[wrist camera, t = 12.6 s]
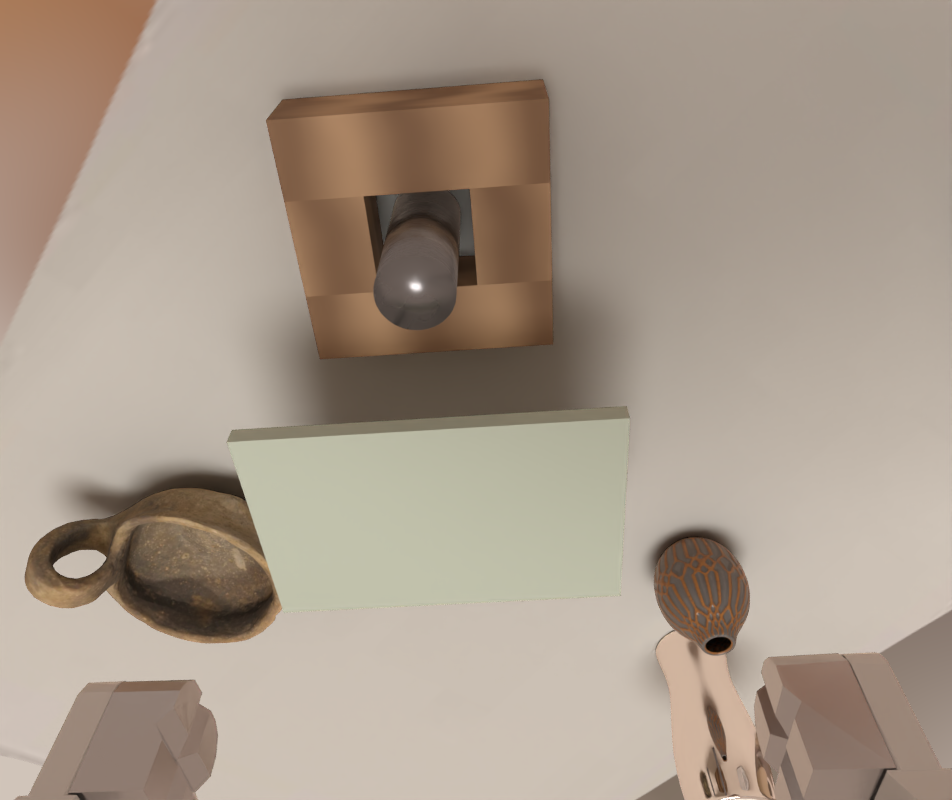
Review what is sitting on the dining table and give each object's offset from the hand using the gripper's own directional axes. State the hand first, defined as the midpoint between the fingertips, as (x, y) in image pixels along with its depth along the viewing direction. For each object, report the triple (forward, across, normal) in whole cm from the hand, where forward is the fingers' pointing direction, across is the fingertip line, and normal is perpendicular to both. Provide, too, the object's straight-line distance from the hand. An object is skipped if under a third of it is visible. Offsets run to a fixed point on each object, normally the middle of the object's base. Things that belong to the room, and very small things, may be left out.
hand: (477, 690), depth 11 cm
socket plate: (+36, +4, +7) cm, 37 cm away
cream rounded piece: (+36, -15, +49) cm, 63 cm away
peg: (+36, +4, +7) cm, 37 cm away
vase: (+36, -14, +37) cm, 54 cm away
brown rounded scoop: (+36, +25, +30) cm, 53 cm away
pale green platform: (+36, +4, +20) cm, 41 cm away
